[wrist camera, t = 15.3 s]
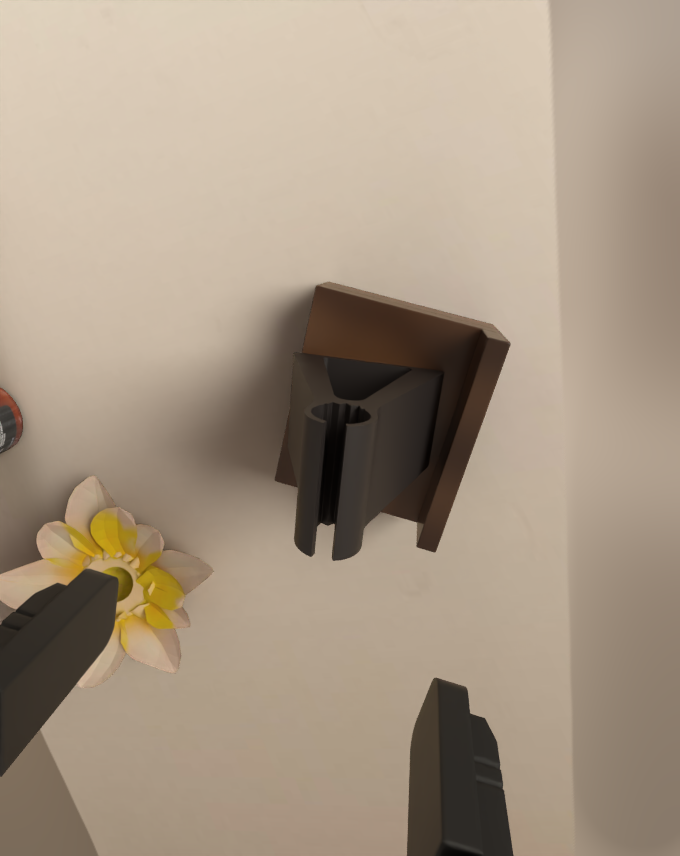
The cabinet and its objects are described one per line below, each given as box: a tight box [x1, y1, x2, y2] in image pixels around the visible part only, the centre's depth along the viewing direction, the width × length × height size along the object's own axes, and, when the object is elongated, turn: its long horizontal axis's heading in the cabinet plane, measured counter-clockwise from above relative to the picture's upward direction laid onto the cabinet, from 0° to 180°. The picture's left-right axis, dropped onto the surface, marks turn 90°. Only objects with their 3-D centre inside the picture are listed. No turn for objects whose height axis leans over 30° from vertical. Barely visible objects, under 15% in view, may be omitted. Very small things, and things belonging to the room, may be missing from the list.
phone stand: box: [288, 353, 444, 561], centre depth 26 cm, size 9×6×12 cm, turn 84°
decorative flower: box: [0, 475, 214, 688], centre depth 38 cm, size 15×11×10 cm
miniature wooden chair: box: [275, 282, 510, 552], centre depth 32 cm, size 13×11×7 cm
